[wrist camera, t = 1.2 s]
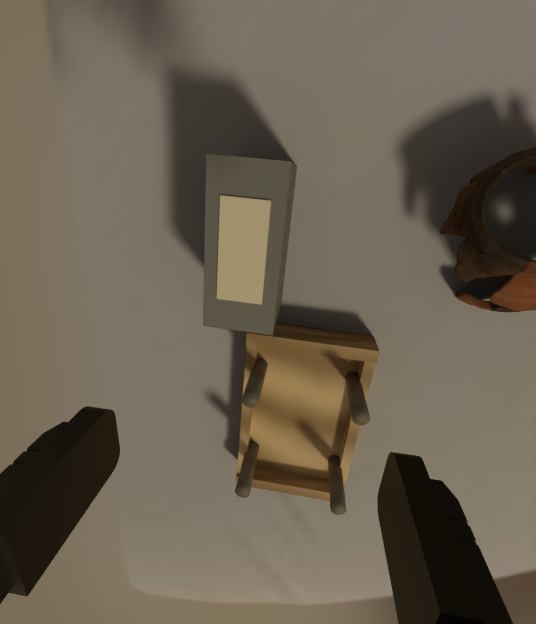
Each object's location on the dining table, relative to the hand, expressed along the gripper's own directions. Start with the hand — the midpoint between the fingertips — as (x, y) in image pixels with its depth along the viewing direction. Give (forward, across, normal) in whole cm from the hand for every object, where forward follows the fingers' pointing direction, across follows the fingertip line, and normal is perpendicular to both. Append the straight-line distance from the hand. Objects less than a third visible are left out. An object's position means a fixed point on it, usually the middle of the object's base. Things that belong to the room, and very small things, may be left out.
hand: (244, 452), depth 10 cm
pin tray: (+18, -2, +12) cm, 21 cm away
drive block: (+18, +2, -3) cm, 18 cm away
